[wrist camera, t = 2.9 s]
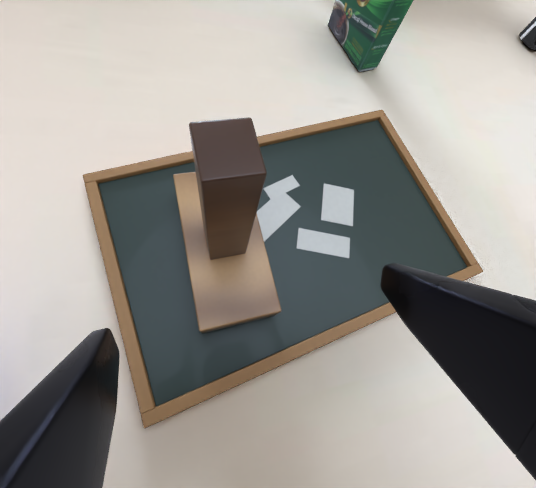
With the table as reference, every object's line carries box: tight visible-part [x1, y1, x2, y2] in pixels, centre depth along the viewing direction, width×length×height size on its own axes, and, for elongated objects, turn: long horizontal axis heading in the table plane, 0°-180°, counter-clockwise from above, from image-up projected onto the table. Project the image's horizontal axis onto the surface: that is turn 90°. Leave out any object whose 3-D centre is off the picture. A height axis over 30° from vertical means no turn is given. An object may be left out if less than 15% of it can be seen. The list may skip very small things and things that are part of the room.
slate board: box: [83, 110, 483, 428], centre depth 23 cm, size 28×18×1 cm, turn 112°
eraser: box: [173, 118, 281, 333], centre depth 16 cm, size 11×5×12 cm, turn 14°
